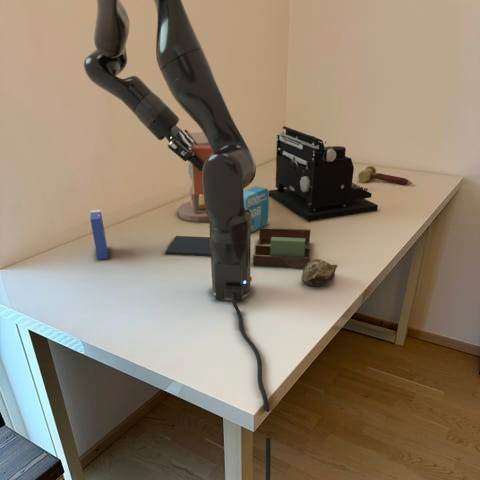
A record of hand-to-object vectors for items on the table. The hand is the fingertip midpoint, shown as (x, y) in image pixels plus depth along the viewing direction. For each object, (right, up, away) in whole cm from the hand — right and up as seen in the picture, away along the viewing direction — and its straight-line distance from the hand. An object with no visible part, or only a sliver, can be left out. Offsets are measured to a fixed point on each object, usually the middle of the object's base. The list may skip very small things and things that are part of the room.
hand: (204, 166), depth 123 cm
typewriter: (+39, +2, +46) cm, 60 cm away
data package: (+13, -12, +26) cm, 31 cm away
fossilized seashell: (+29, -31, -6) cm, 43 cm away
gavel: (+69, +16, +68) cm, 99 cm away
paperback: (+22, -25, +3) cm, 34 cm away
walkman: (-30, -22, +9) cm, 38 cm away
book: (+2, -6, +4) cm, 7 cm away
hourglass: (-3, -4, +38) cm, 38 cm away
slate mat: (-1, -20, +13) cm, 23 cm away
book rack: (+21, -22, +8) cm, 32 cm away
